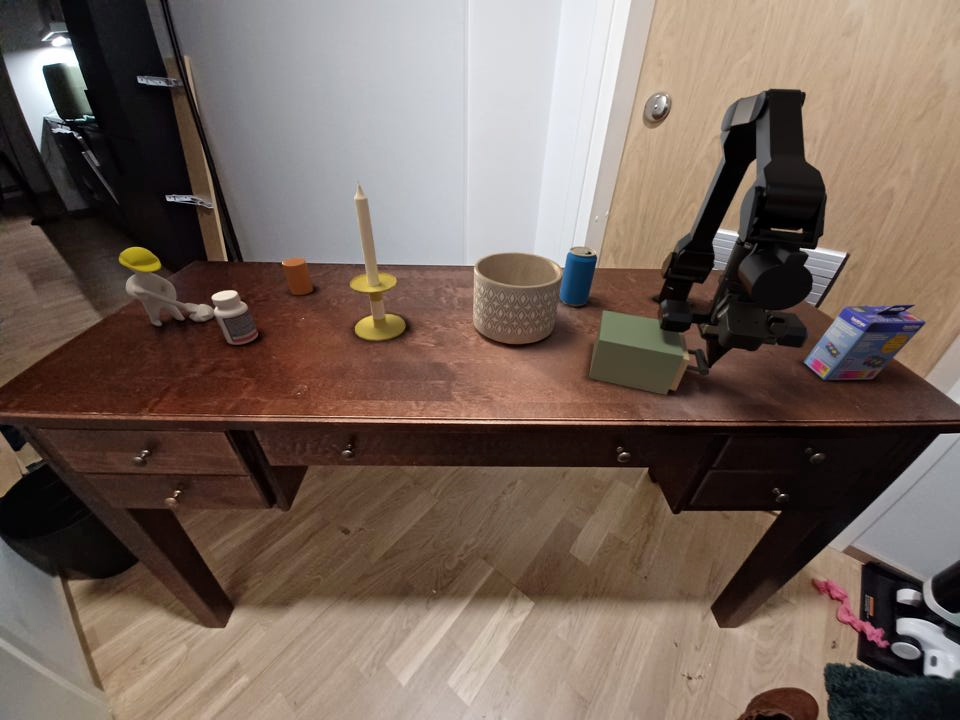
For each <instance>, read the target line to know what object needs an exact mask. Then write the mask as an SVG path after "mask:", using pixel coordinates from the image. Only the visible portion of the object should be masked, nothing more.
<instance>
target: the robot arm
mask: <svg viewBox="0 0 960 720" xmlns="http://www.w3.org/2000/svg"><path fill="white" fill-rule="evenodd" d="M806 96H807V93H806V91H802V89H801V88H800V89H798V88H797V89H795V88H769V89H768V90H763V91H762V90H761V92H760V93H758V94H754V95H751V96H750V95H749V96H746V97H740V98H739V99H737V100H735V101H734V102H733V103H731V104H730V105H729V106H728V107H727V109H726V111H725V112H724V115H723V118H722V121H721V126H720V132H721V133H720V135H719V141H720V143H719V144H720V148H721V154H722V155H721V158H720V160H719V163H718V165H717V167H716V170H715V173H714V175H713V177H712V179H711V181H710V184H709V186H708V189H707V191H706V194H705V196H704V199H703V201H702V203H701V205H700V208H699V211H698V213H697V215H696V218H695V220H694V221H693V225H692V227H691V228H690V231H689V232H688V233H686V234H685V235H684V236H682V237H681V238H680V239H679V240H678V241H676V244H675V246H674V248H673V250H672V251H670V252H669V253H668V254H667V256H666V258H665V259H664V260H663V262H662V264H661V268H660V274H661V278H662V279H663V280H664V283H663V284H662V288H661V290H660V292H659V294H658V295H655V296H652V300H653V301H655V302H657V303H659V306H658V308H657V313H656V314H657V320H659V326H660V329H662V330H664V331H671V332H679V333H683V332H684V333H685V332H687V331H689V330H690V329H691V327H692V324H695V325H696V327H697V330H698V332H699V336H700V338H701V339H702V340H705V351H706V352H705V353H706V354H705V356H706V361H707V364H708V368H709V370H710V369H712V367H713V366H714V365H715V364H716V363H717V362H718V361H719V360H720V359H722V358H723V356H725V355H726V354H727V353H728V352H730V351H731V350H732V349H738V350H745V351H747V352H757V351H758V350H759V349H760V347H761V346H762V345H770V346H775V345H776V344H777V346H780V347H788V348H797V349H801V348H803V347H804V346H805V344H806V342H807V340H808V338H809V334H810V331H809V329H808V328H807V327H806V325H805V324H804V323H803V321H802V320H801V319H800V318H799V317H798V315H797V314H796V313H794V312H785V310H788V309H790V308H794V307H795V306H797V305H799V304H800V303H802V302H803V301H804V300H805V299H806V298H807V297H808V296H809V295H810V294H811V293H812V290H813V284H814V278H813V273H812V272H811V271H810V270H809V269H808V268H807V267H806V266H805V264H806V263H807V261H808V259H809V257H810V255H809V253H808V252H806V251H805V250H810V251H811V250H812V251H814V250H816V249H817V247H818V245H819V239H820V238H822V237H823V236H824V231H825V221H826V220H825V219H826V207H827V201H828V194H827V188H826V184H825V182H824V178H823V175H822V173H821V171H820V170H819V169H817V168H816V167H815V166H813V165H812V164H810V163H809V162H808V160H806V149H805V137H804V135H805V134H804V121H803V107H804V105H805V101H806ZM754 161H756V162H755V164H756V168H755V169H756V171H755V173H756V176H755V177H756V178H755V180H754V182H753V183H752V185H751V186H750V187H749V188H748V189H747V191H746V192H745V194H744V196H743V199H742V202H741V204H740V210H739V224H738V225H739V226H738V227H739V228H738V230H737V232H736V233H737V235H738V237H737V238H736V240H735V242H734V244H733V247H732V250H731V252H730V254H729V257H728V260H727V263H726V265H725V266H724V267H725V268H724V270H723V272H722V274H720V275H719V276H718V279H717V283H718V286H717V288H716V290H715V293H714V295H713V298H712V299H709V302H708V305H707V306H708V308H709V309H708V311H700V310H692V308H691V306H692V305H693V302H692V301H690V300H688V299H689V296H690V293H691V291H692V290H693V289H692V288H693V286H694V283H695V284H700V285H704V283H705V282H706V280H707V279H708V277H709V275H710V274H711V272H712V271H713V269H714V267H715V259H716V253H715V248H714V239H715V237H716V236H717V233H718V231H719V229H720V226H721V225H722V223H723V220H724V219H725V217H726V214H727V212H728V210H729V208H730V206H731V204H732V202H733V200H734V198H735V196H736V194H737V192H738V190H739V187H740V185H741V184H742V182H743V179H744V177H745V175H746V173H747V171H748V169H749V167H750V165H751V164H752V163H753V162H754ZM800 230H801V232H799V231H800ZM801 249H802V250H801Z"/></svg>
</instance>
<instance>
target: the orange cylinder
mask: <svg viewBox="0 0 960 720" xmlns="http://www.w3.org/2000/svg"><path fill="white" fill-rule="evenodd" d="M282 268H283V271H284V274H285V277H286V281H287V284H288V287H289V291H290V293H291V295H295V296H303V295H309V294H310V293H312V292H313V291H314V286H313V283H312V280H311V279H312V278H311V275H310V272H309V268H308V264H307V260H306V259H305V258H302V257H293V258H288V259H285V260H284V261H282Z"/></svg>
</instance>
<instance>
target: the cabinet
mask: <svg viewBox="0 0 960 720" xmlns="http://www.w3.org/2000/svg"><path fill="white" fill-rule="evenodd" d="M683 357H684V355H683V350H682V345H681V340H680V335H679V332H671V331H664V330H662V329H660V326H659V320H658V318H657V319H656V318H650V317H644V316H639V315H635V314H628V313H623V312H617V311H610V310H605V309H603V310H602V313H601V317H600V320H599V325H598V328H597V332H596V336H595V339H594V343H593V348H592V356H591V360H590V361H591V362H590V368H589V375H588V379H591V380H596V381H600V382H604V383H609V384H614V385H618V386H623V387H626V388H627V387H628V388H632V389H636V390H642V391H646V392H650V393H655V394H658V395H659V394H660V395H664V396H667V395H668V392H669V390H670V389H669V388H670V386H671V383H672V381H673V379H674V377H675V375H676V372H677V370H678V368H679V366H680V363H681V361H682V359H683Z"/></svg>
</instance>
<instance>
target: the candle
mask: <svg viewBox="0 0 960 720" xmlns="http://www.w3.org/2000/svg"><path fill="white" fill-rule="evenodd" d="M356 186H357V187H356V193H355V195H354V197H353V201H354V208H355V213H356V214H355V215H356V219H357V225H358V231H359V237H360V243H361V249H362V255H363V256H362V257H363V262H364V267H365V273H363V274H360V275H358V276H355V277H353V278H352V279H351V280H350V281H349V286H350V289H352V290H353V291H354V292H356V293H359V294H367V295H368V298H369V303H370V310H371V311H370V312H371V315H369V316H366V317H364V318H362V319H361V320H359V321H358V322H357V323H356V324H355V326H354V333H355V335H356V336H358V337H359V338H360V339H363V340H366V341H371V342H381V341H388V340H391V339H394V338H397V337H399V336H400V335H401V334H402V333H404V331H405V330H406V327H407V325H406V322H405V320H404V319H403V318H402V317H400V316H399V315H395V314H391V313H386V311H385V304H384V297H383V293H385V292H388V291H390V290H392V289H393V288H395V287H396V286H397V284H398V280H397V277H395V276H394V275H392V274H390V273H386V272H379V269H378V262H377V256H376V254H377V253H376V248H375V247H376V246H375V241H374V240H375V239H374V234H373V233H374V232H373V228H372V227H373V226H372V220H371V213H370V212H371V211H370V207H369V206H370V205H369V200H368V197H367V196H366V195H365V193H364V191H363V190H362V187H361V184H360V182H359V181H357V185H356Z"/></svg>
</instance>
